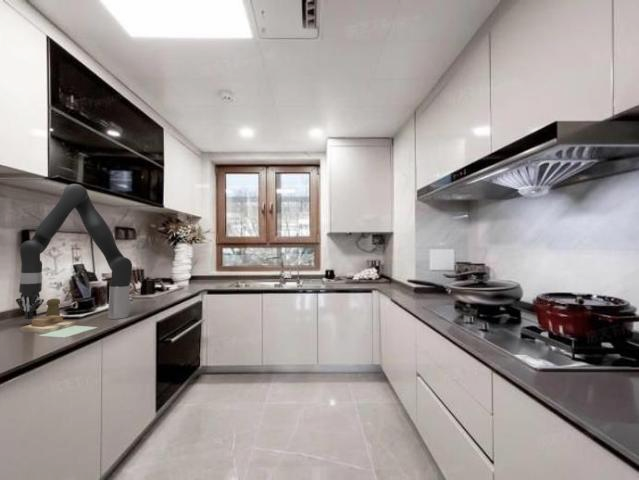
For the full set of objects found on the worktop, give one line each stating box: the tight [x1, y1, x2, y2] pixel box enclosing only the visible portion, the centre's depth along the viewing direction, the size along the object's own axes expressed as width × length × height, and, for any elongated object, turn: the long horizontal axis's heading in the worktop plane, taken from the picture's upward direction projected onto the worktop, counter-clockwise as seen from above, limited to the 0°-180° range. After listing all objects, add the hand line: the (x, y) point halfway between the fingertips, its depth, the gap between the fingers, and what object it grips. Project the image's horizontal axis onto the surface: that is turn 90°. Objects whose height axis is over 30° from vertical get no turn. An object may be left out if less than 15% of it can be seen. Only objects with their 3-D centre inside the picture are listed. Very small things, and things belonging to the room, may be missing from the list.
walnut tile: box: [30, 315, 64, 327], centre depth 136 cm, size 9×6×3 cm, turn 173°
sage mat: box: [38, 325, 99, 339], centre depth 131 cm, size 16×12×1 cm
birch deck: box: [20, 320, 77, 334], centre depth 136 cm, size 13×14×2 cm
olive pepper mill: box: [45, 298, 61, 317], centre depth 150 cm, size 6×6×11 cm
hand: (28, 318), depth 137 cm, fingers closed
